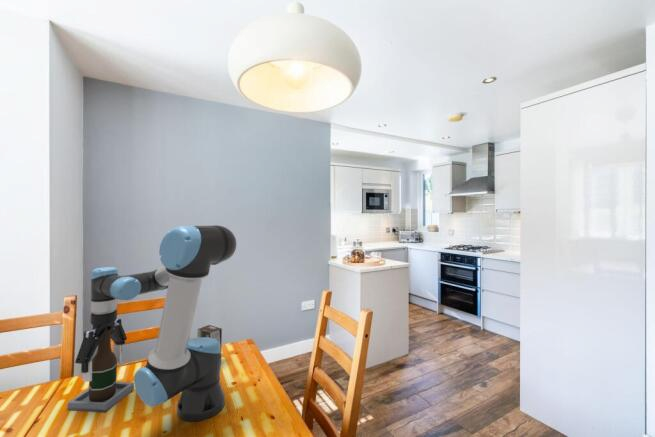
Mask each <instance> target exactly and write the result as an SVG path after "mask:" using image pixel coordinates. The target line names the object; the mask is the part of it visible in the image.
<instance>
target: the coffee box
mask: <svg viewBox="0 0 655 437" xmlns="http://www.w3.org/2000/svg"><path fill="white" fill-rule="evenodd" d="M222 332H223V329H222V328H221V327H217V326H215V325H210V324H208V325H205V326H203V327H200V328H197V337H196V338H199V337H208V338H214V339H216V340H218V341H219V343H220V351H221V353H220V366H221V365H222V346H223V345H222V342H223V341H222V340H223V339H222V338H223V337H222V334H223V333H222Z"/></svg>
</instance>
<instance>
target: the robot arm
mask: <svg viewBox="0 0 655 437" xmlns="http://www.w3.org/2000/svg"><path fill="white" fill-rule="evenodd" d="M236 250H237V239H236V236H235V234H234V233H233V232H232V231H231V230H230V228H228V227H225V226H223V225H216V224H215V225H191V224H190V225H188V224H187V225H183V226H176V227H172V228H171V230H168V231H167V232H166V233H165V234H164V236H163V237H162V239H161V241H160V245H159V251H158V253H159V256H160V258H159V259H160V262H161V265H162V266H160V267H158V268H156V269H154V270H152V271H147V272H141V273H133V274H127V275H119V273H118V271H119V270H118V268H117V267H113V266H106V267H97V268H94V269H93V270H92V272H91V279H90V313H91V314H90V324H91V326H92V329H91V330H89V331H88V330H86V331H84V332H83V337H82V338H83V339H82V341H81V345H80V346H79V347H80V348H79V350H78V353H77V355H76V358H75V362H74V363H75V364H80V366H81V367H80V370H81V373H82V374H81V375H82V376H81V378H82V380H81V381H82V382H85V383H86V382H87V383H89V382H90V381H92V359H93V357H94V354H95V352H96V351H97V349H98V344H99V342H101V341H102V339H103V337H104V334H105V333H106V331H108V329H110V330H111V333H110V338H111V341H112V342H113V343H114V344H113V347H112V352H113V353H114V354H115V356H116V359H117V364H120V363H122V353H123V352H122V351H123V345H125V344H126V341H127V339H128V336H127V335H126V332H125V330H124V327H123V324H122V318H117V317H118V315H117V314H118V311H117V309H118V300H120V301H130V300H133V299H135V298H136V297H137V296H139V295H143V294H147V293H152V292H157V291H164V290H167V291H166V295H165V299H164V305H163V310H162V315H161V318H160V319H161V320H160V323H159V324H160V325H159V330H158V335H157V340H156V344H155V348H153V349H152V350H151V351H150V352H149V354H148V356H147V361H146V364H145V365H144V366H141V367H140V368H138V369H137V370H136V372H134V378H133V383H134V389H135V390H136V391H135V392H136V393H137V395H138V397H139V399H140V400H141V401H142V402H143V403H144V404H145V405H146V406H148V407H157V406H159V405H161V404H164V403H166V402H168V401H169V400H171V399H172V398H174V397H176V396H177V395H179V394H180V393H181V394H180V396H179V400H178V402H177V405H176V413H177V417H178V418H179V419H181V420H183V421H186V422H201V421H204V420H207V419H211V418H212V417H214V416H216V415H217V414H219V412H221V411H222V409H224V407H225V400H226V398H225V397H226V396H225V393H224V389H223V387H222V384H221V381H220V379H221V365H220V353H221V354H222V350H221V351H220V343H219V341H218V340H216V339H214V338H208V337H199V338H197V337H194V338H193V337H192V338H190V336H191V332H192V328H193V323H194V317H195V313H196V308H197V303H198V299H199V296H200V295H199V294H200V290H201V285H202V281H203V279H205V278H206V277H209V276H208V275H209V273H210V270H211V266H216V265H219V264H220V263H222V262H225V261H228V260H229V259H230V258H232V256H233V255H234V254H235V252H236Z"/></svg>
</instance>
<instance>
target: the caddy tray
mask: <svg viewBox="0 0 655 437" xmlns="http://www.w3.org/2000/svg"><path fill="white" fill-rule="evenodd" d="M134 389H135V384H134V382H125V381H124V382H123V381H116V392H115V394H114V395H113V396H112V397H111V398H110V399H108V400H106V401H103V402H91V401H90V399H89V388H87V389H86V390H84V391H83V392H81V393H79V394H78V395H77V396H75V397H74V398H72V399H71V400H69V401H67V407H66V408H67V411H77V412H78V411H79V412H91V413H92V412H93V413H107V412H108V411H109V410H110V409H112V407H115V405H116V404H118V403H119V402H120V401H121V400H123V399H124V398H125V397H127V395H129V394H130V393H131V392H132V391H134Z"/></svg>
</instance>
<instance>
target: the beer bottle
mask: <svg viewBox="0 0 655 437" xmlns="http://www.w3.org/2000/svg"><path fill="white" fill-rule="evenodd" d="M110 333H111V330H110V329H108V331H106V333H105V334H104V337H103V339H102V341H101V342H99V344H98V346H97V349H96V354H95V355H93V357H92V358H91V361H92V381H90V382H88V389H89V399H90V401H91V402H103V401H106V400H108V399H110V398H111V397H112V396H113V395H114V394H115V392H116V382H117V368H118V363H117V359H116V356H115V354H114V353H113V350H112V345H111V343H112V342H111V341H112V339H111V338H110Z"/></svg>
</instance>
